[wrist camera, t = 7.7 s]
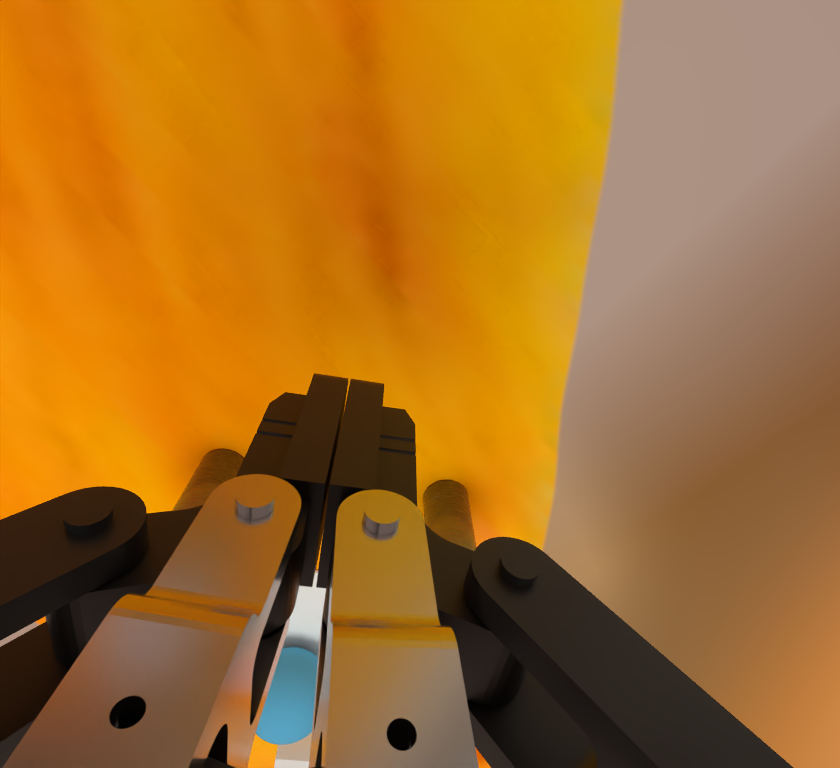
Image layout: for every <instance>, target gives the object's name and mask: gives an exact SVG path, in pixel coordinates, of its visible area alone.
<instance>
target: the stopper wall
mask: <svg viewBox="0 0 840 768" xmlns="http://www.w3.org/2000/svg"><path fill="white" fill-rule="evenodd" d="M311 738H312V733H310V734H309V735H308V736H307V737H305V738H303V739H302V740H300V741H297V742H295V743H292V744H286V745H278V749H277V754H276V759H275V767H274V768H309V759H310V749H311Z"/></svg>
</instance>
